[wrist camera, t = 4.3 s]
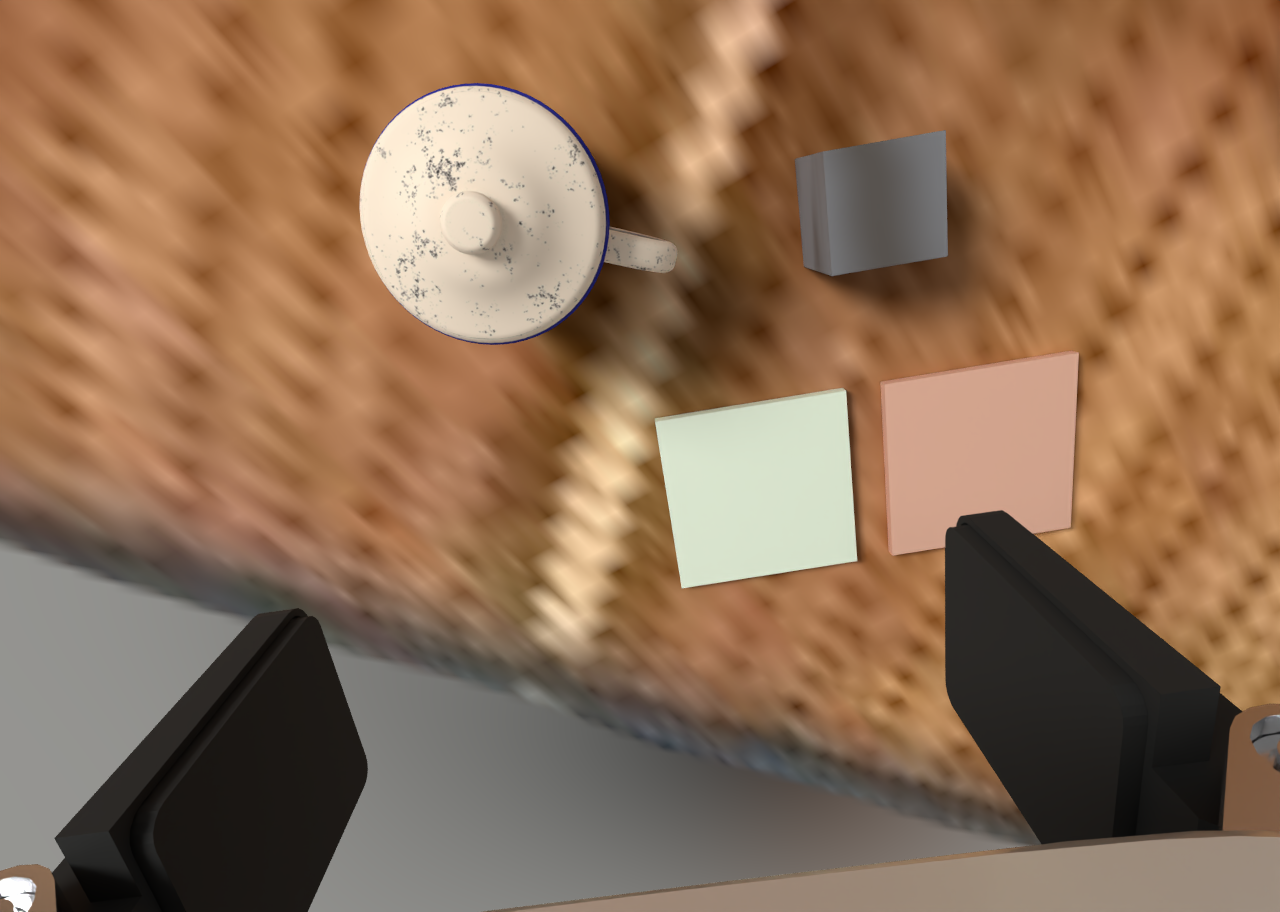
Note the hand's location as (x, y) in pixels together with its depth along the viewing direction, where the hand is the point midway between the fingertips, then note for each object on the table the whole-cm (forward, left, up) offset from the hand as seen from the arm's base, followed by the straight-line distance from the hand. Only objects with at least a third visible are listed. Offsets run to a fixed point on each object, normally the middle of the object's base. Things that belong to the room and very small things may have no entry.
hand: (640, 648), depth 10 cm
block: (-12, -4, -27) cm, 30 cm away
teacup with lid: (+3, -6, -27) cm, 28 cm away
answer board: (-12, +10, -27) cm, 31 cm away
